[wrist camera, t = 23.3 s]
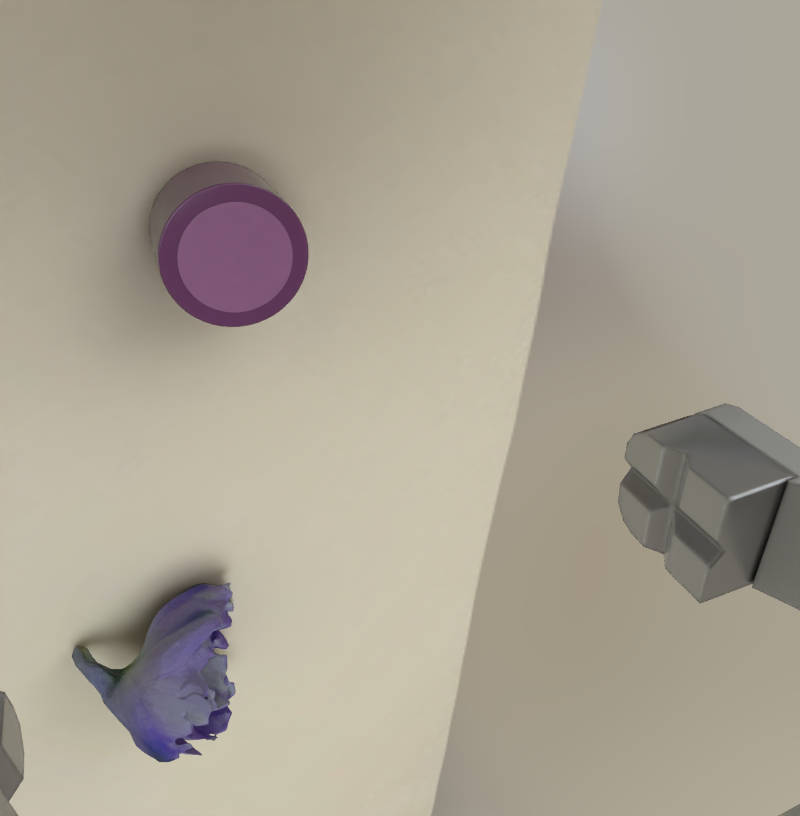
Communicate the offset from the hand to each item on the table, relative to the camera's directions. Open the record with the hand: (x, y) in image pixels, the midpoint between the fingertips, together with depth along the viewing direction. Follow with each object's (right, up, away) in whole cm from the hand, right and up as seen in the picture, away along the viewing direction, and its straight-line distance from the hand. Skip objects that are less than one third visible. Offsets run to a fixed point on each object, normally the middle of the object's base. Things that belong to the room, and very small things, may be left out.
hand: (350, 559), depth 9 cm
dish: (-7, +10, +22) cm, 25 cm away
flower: (-14, -11, +33) cm, 37 cm away
